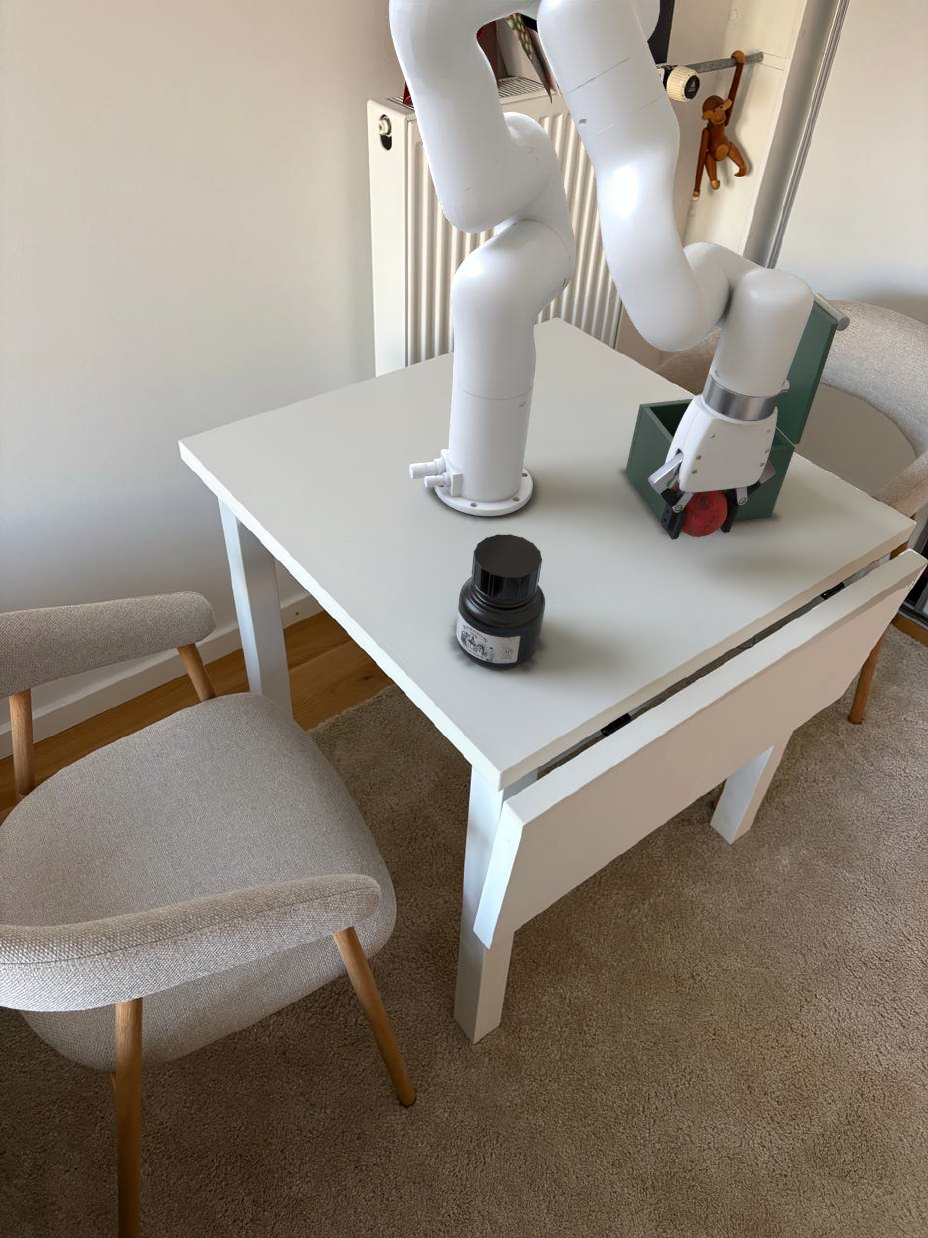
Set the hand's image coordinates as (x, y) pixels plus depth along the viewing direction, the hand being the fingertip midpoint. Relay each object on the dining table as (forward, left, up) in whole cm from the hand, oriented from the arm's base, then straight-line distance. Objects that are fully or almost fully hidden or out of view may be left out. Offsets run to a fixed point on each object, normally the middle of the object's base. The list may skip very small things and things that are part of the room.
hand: (695, 527), depth 114 cm
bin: (+8, +12, -5) cm, 15 cm away
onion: (0, 0, -1) cm, 1 cm away
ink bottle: (-26, -8, -5) cm, 28 cm away
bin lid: (+15, +12, +13) cm, 23 cm away
